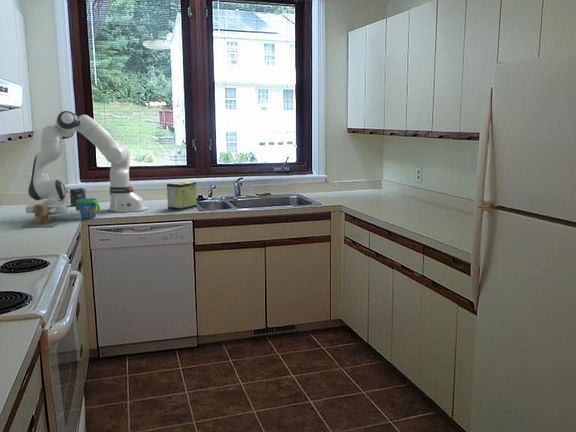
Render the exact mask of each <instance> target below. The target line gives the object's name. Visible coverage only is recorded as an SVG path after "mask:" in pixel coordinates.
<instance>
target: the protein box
mask: <svg viewBox="0 0 576 432" xmlns="http://www.w3.org/2000/svg"><path fill="white" fill-rule="evenodd" d="M166 192H167V194H166V195H167V196H166V197H167V199H166V200H167V210H175V211H184V210H188V209H193V208H197V205H198V204H197V182H196V181H183V180H181V181H176V182H170V183H166Z"/></svg>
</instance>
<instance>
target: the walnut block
mask: <svg viewBox="0 0 576 432" xmlns="http://www.w3.org/2000/svg"><path fill="white" fill-rule="evenodd" d="M33 205H34V210H35V213H34V217H35V219H34V221H36V225H41V224H47V223H49V221H50V218H49V216H50V215H49V214H48V204H42V203H37V204H33Z"/></svg>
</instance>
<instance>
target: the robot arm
mask: <svg viewBox="0 0 576 432" xmlns="http://www.w3.org/2000/svg"><path fill="white" fill-rule="evenodd" d="M76 132H78V133H80V134H82V135H83V136H84V137H85V138H86V139H87V140H88V141H89V142H90V143H91V144H93V146H94V147H96V148H97V150H98V151H99V152H100V153H101V154H102V155H103V156H104V158H105V160H106V161H107V162H108V163H110V170H109V196H110V202H109V203H110V204H109V208H108V210H109V211H110V212H115V213H122V212H123V213H124V212H127V213H128V212H143V211H146V210H148V206H147V205H145V203H144V199H143V197H141V196H139V195H138V194H137V193H136V192H134V186H131V185H130V184H131V183H130V164H131V163H130V162H131V150H130V147H128V146H127V145H125V144H124V143H118V142H117V141H116V140H115V139H114V138H113V137H112V135H111V133H110V132H109V131H107V129H106V128H104V127H103V126H102V125H101V124H100V123H98V122H97V121H96V120H95V119H94V118H92V117H90V116H89V115H87V114H81V115H78V114H76V113H74V112H72V111H69V110H63V111H60V113H59V114H58V115H57V116H56V121H55V124H54V125H47V126H44V127H43V128H42V131H41V137H40V149H39V152H38V153H37V154H36V155H35V156H34V159H33V164H32V172H31V175H30V176H31V178H30V182H29V186H28V189H27V190H28V196H29V197H30V198H31V199H32V200H35V201H41V200H43V202H42V203H41V204H48V214H49V216H54V215H57V214H58V215H59V214H65V213H66V214H67V212H68V199H67V198H66V195H67V194H66V193H67V192H66V186H65V185H64V184H63V183H62V181H60V180H59V179H52V180H47V181H45V180H43V181H41V180H42V174H43V171H44V170H43V169H44V168H45V167H46V166H47V165H49V164H51V163H53V162H55V161H57V160H58V159H59V158H60V157H61V156H62V154H63V140H64V139H70V138H72V137H73V136H74V135H75V133H76ZM34 205H35V204H29V205H26V206H25V213H26V214H35V210H34Z"/></svg>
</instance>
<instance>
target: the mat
mask: <svg viewBox="0 0 576 432" xmlns="http://www.w3.org/2000/svg"><path fill="white" fill-rule="evenodd" d="M62 223H63V220H49V223H47V224H41V225H36V221H35V220H33V221H30V222H27V223H25V224H23V225H21V228H22V229H23V228H25V229H26V228H27V229H28V228H54V227H57V226H58V225H60V224H62Z"/></svg>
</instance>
